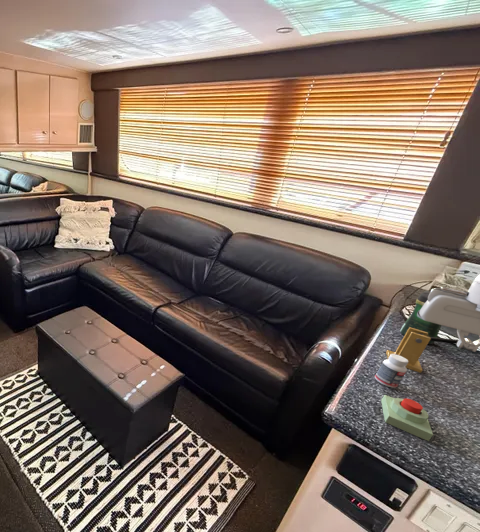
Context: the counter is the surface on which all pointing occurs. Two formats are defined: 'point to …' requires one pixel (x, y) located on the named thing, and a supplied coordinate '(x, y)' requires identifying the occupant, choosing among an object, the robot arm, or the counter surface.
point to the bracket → (412, 348)
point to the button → (411, 406)
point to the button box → (406, 418)
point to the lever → (444, 339)
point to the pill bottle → (392, 371)
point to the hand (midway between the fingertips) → (465, 348)
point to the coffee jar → (421, 320)
